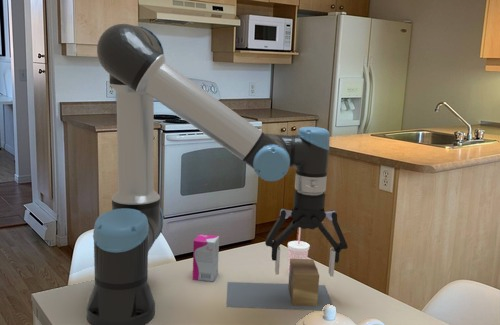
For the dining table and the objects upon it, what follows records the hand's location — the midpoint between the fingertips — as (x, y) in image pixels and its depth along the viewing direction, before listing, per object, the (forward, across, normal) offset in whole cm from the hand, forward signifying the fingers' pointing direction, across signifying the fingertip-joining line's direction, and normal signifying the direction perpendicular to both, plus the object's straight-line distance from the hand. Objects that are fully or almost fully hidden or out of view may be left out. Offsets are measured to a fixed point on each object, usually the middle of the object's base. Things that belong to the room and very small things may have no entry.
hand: (303, 273), depth 130 cm
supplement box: (+7, -25, +10) cm, 28 cm away
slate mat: (+7, -6, 0) cm, 9 cm away
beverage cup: (+7, 0, +14) cm, 16 cm away
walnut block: (+6, 0, 0) cm, 6 cm away
